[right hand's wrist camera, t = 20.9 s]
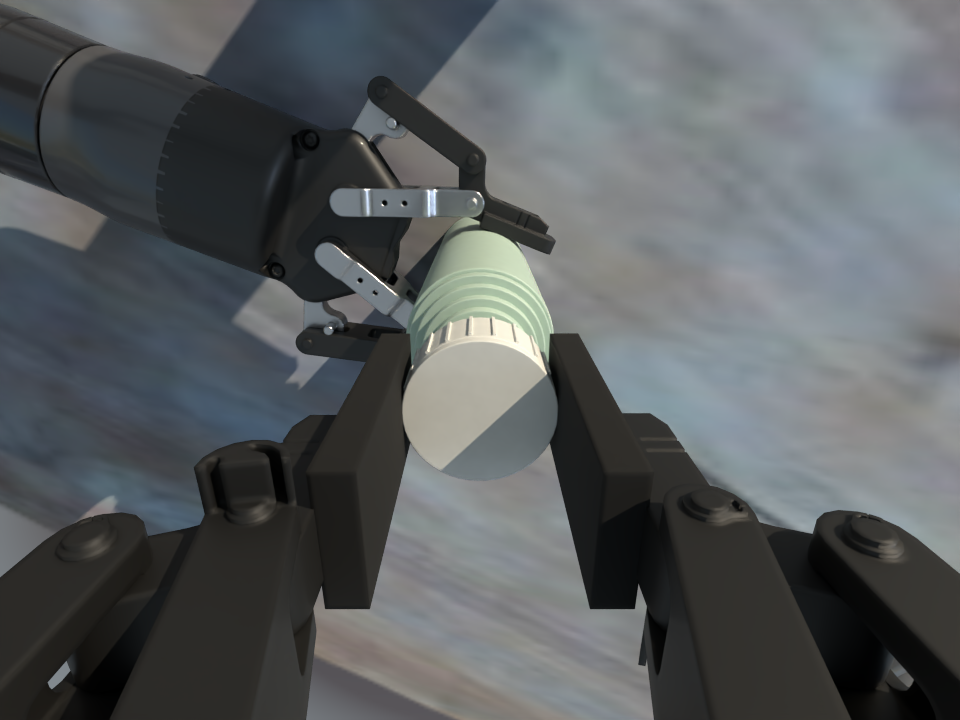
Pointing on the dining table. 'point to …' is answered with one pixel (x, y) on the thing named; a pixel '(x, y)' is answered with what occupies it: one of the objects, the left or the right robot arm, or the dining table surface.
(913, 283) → the dining table surface
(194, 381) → the dining table surface
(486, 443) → the cap
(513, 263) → the bottle
